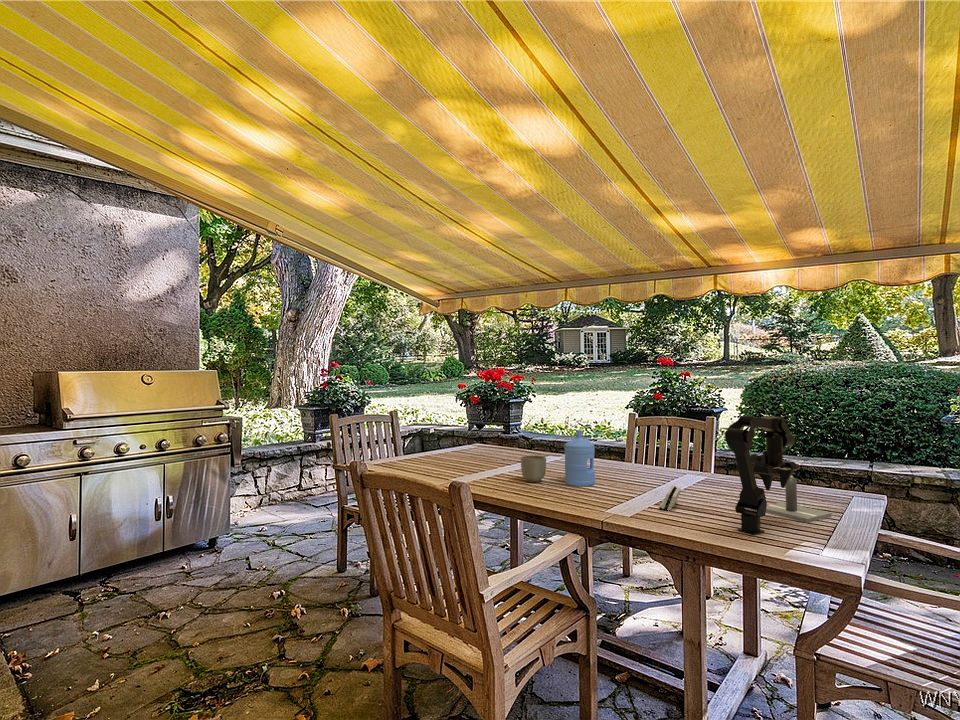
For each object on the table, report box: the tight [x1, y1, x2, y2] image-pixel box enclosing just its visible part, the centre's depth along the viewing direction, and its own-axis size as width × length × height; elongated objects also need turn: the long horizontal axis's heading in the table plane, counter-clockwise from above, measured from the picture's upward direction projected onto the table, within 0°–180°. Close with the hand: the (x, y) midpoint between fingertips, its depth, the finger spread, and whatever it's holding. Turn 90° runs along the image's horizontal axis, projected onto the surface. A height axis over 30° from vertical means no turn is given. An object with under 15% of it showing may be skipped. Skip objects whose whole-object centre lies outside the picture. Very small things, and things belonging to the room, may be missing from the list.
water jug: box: [564, 429, 596, 487], centre depth 274 cm, size 16×16×28 cm
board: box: [766, 501, 832, 524], centre depth 213 cm, size 16×20×2 cm
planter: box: [520, 454, 547, 483], centre depth 281 cm, size 14×14×13 cm
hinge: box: [657, 485, 682, 511], centre depth 227 cm, size 17×5×10 cm, turn 150°
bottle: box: [784, 475, 798, 512], centre depth 212 cm, size 4×4×14 cm
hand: (775, 489), depth 201 cm, fingers open, 9 cm apart
